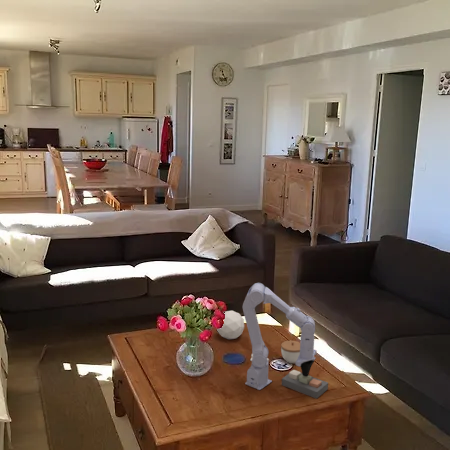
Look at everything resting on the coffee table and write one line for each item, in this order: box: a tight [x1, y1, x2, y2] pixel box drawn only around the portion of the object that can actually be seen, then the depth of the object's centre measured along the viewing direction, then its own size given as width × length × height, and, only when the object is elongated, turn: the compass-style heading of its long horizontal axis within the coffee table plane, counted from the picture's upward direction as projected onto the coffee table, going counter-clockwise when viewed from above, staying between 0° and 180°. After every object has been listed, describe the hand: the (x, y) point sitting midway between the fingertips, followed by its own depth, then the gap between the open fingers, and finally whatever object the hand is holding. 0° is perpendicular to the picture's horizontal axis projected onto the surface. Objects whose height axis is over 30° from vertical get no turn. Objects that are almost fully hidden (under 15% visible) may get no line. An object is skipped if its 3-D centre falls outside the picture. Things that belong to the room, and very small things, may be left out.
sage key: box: [299, 374, 312, 384], centre depth 218 cm, size 4×4×3 cm
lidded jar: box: [280, 340, 300, 364], centre depth 242 cm, size 11×11×9 cm
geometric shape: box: [216, 310, 245, 340], centre depth 265 cm, size 14×15×15 cm
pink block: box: [309, 379, 323, 388], centre depth 215 cm, size 4×4×3 cm
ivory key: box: [288, 369, 302, 380], centre depth 221 cm, size 4×4×3 cm
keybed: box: [281, 372, 329, 399], centre depth 219 cm, size 10×17×3 cm, turn 52°
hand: (305, 375), depth 218 cm, fingers closed
